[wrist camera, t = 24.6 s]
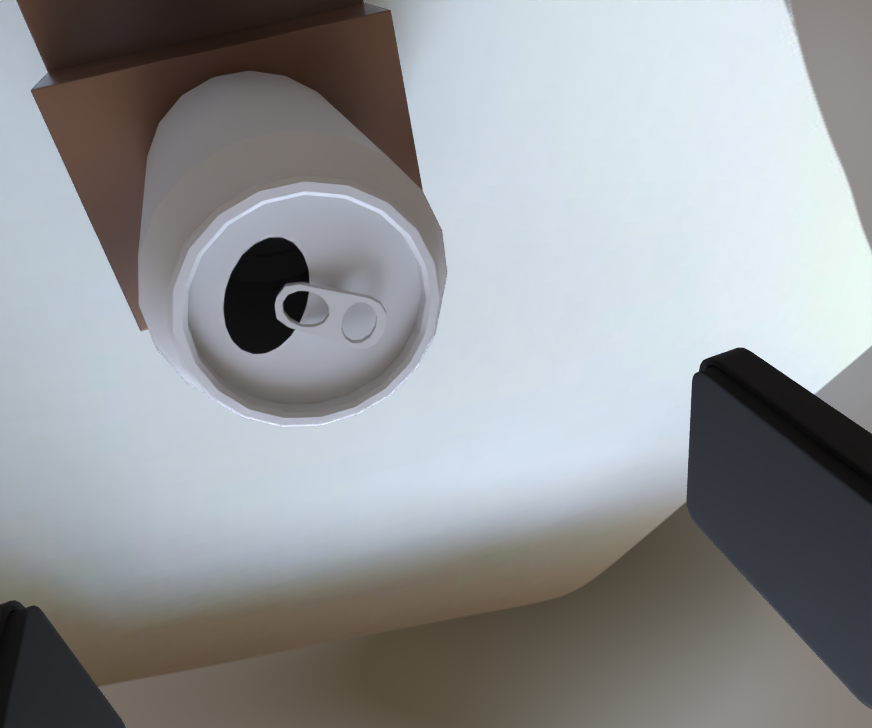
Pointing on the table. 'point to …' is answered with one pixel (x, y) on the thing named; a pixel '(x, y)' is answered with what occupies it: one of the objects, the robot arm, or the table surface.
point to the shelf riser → (188, 68)
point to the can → (284, 254)
